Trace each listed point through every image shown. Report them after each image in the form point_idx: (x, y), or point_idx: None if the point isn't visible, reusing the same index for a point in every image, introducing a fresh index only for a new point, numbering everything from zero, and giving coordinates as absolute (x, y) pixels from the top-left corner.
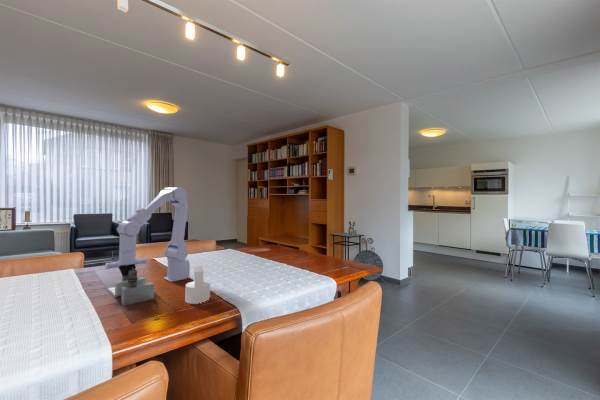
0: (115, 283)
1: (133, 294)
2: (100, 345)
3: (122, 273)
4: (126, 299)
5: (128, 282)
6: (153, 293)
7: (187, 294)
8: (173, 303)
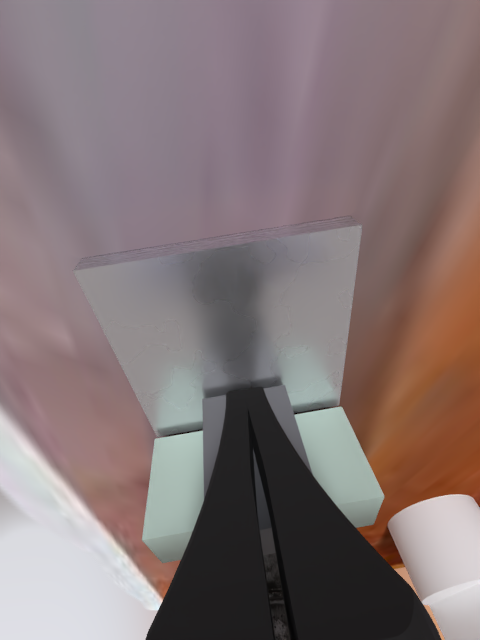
0: (147, 533)
1: None
2: (147, 604)
3: (214, 513)
4: None
5: None
6: None
7: (404, 562)
8: None
